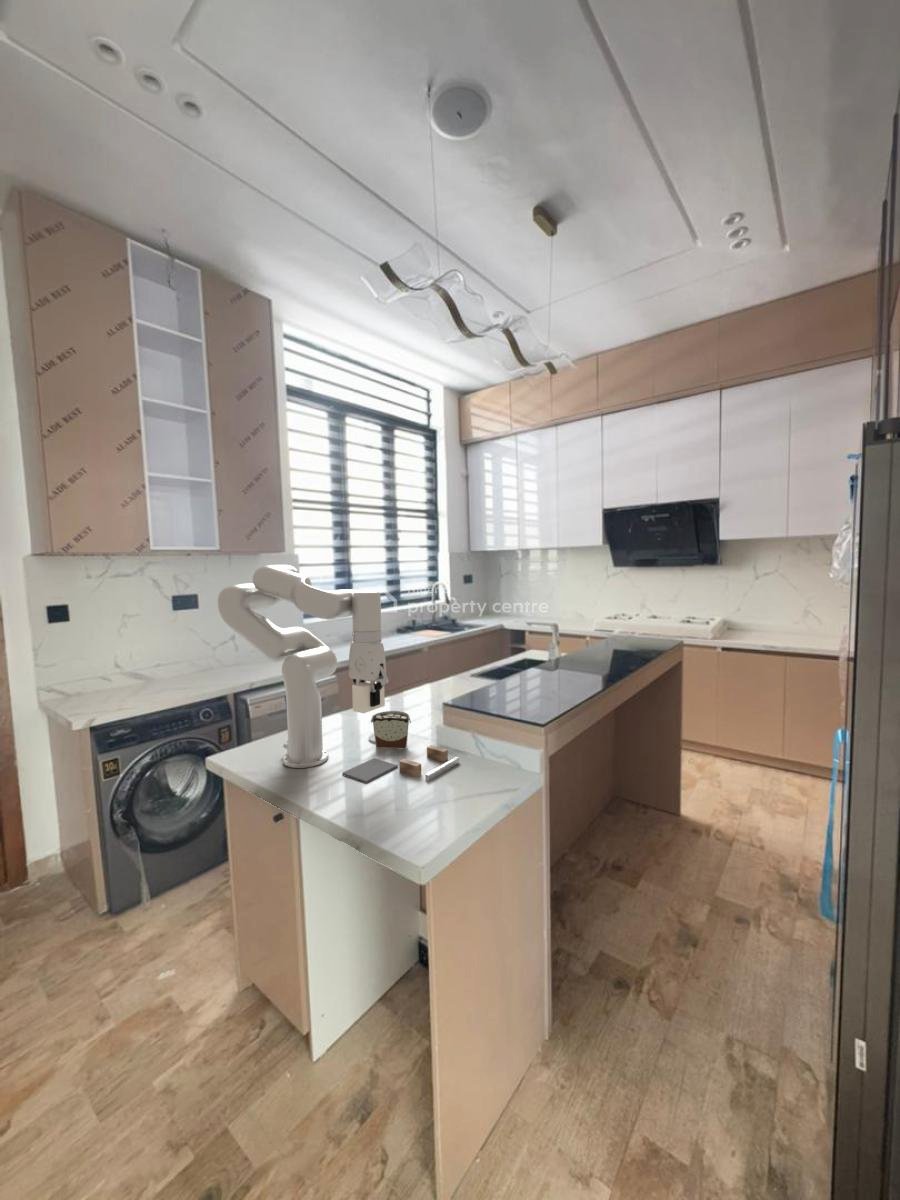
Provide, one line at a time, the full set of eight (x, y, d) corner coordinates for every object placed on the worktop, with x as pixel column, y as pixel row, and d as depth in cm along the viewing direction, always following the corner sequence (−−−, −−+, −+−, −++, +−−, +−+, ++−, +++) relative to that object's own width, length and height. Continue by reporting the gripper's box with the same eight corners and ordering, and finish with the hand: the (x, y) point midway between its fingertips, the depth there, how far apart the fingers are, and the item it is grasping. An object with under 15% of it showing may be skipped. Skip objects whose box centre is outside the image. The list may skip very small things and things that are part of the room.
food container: (414, 741, 155) (413, 710, 154) (411, 749, 149) (410, 716, 148) (376, 740, 156) (375, 710, 156) (371, 748, 150) (370, 716, 149)
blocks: (399, 771, 133) (399, 761, 132) (431, 755, 144) (431, 745, 144) (428, 781, 127) (428, 769, 127) (459, 762, 138) (459, 752, 138)
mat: (342, 774, 131) (342, 772, 131) (374, 759, 141) (374, 757, 141) (366, 783, 126) (366, 781, 126) (397, 767, 136) (397, 765, 136)
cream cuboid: (352, 710, 130) (352, 685, 129) (374, 703, 136) (373, 679, 136) (363, 713, 128) (362, 687, 127) (384, 706, 134) (384, 680, 134)
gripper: (335, 636, 132) (337, 702, 134) (380, 641, 123) (381, 712, 124) (355, 633, 139) (357, 696, 140) (400, 637, 129) (401, 705, 130)
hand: (369, 703), depth 132 cm, fingers closed on cream cuboid, 4 cm apart
